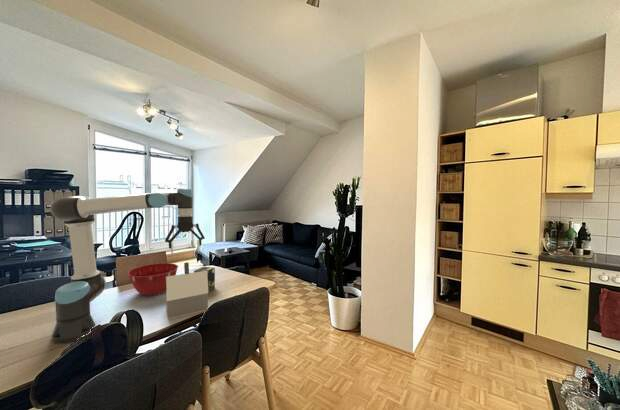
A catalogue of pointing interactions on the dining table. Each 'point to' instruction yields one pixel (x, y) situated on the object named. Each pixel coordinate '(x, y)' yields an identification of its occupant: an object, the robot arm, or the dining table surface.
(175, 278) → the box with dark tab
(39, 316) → the dining table surface
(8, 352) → the dining table surface
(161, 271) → the mixing bowl
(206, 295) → the open cabinet
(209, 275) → the tampon box
